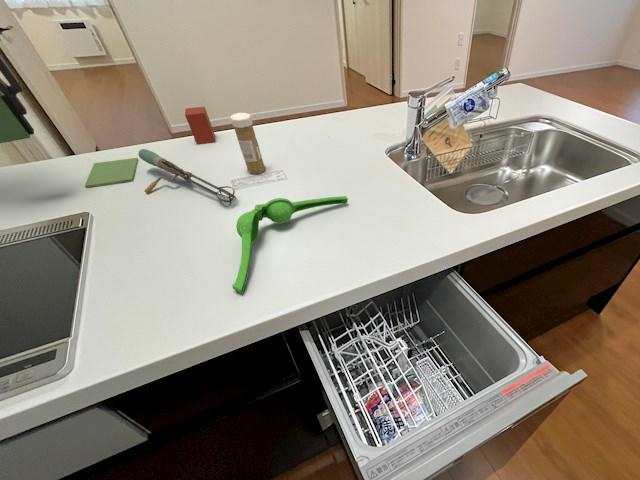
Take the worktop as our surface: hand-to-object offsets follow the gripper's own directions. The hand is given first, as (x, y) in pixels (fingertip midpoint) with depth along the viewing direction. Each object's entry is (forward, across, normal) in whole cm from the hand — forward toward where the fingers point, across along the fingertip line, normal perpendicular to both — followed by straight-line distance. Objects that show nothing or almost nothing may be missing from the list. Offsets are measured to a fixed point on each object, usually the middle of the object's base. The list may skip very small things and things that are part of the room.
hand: (13, 134), depth 70 cm
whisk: (+14, +23, -13) cm, 30 cm away
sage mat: (+14, +11, +6) cm, 19 cm away
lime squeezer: (+14, +36, -42) cm, 57 cm away
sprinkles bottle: (+14, +42, -12) cm, 46 cm away
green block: (0, 0, 0) cm, 0 cm away
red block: (+14, +36, +13) cm, 41 cm away
